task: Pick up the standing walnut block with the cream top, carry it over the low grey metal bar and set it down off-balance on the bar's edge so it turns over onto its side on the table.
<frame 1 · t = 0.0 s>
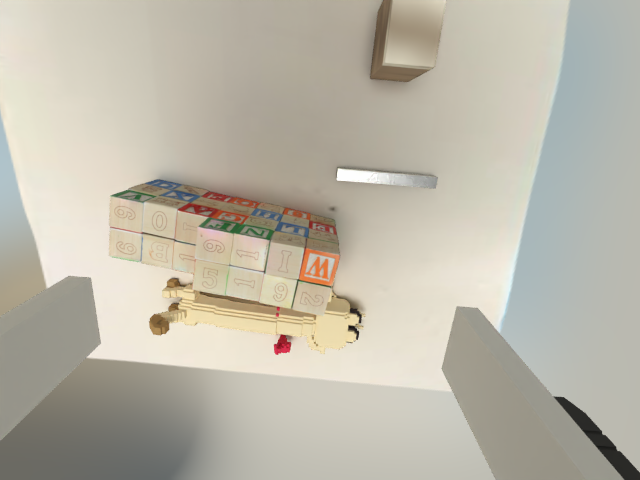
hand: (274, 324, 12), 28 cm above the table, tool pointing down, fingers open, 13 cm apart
cat figure: (268, 304, 44), on the table
walnut block: (393, 47, 34), on the table
grey bar: (384, 176, 38), on the table
stack of blocks: (244, 223, 40), on the table
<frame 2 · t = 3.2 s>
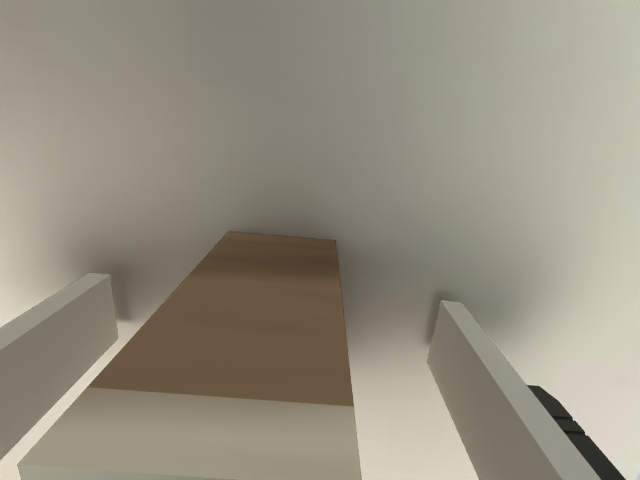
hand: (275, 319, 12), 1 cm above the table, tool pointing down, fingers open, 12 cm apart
walnut block: (278, 306, 13), on the table
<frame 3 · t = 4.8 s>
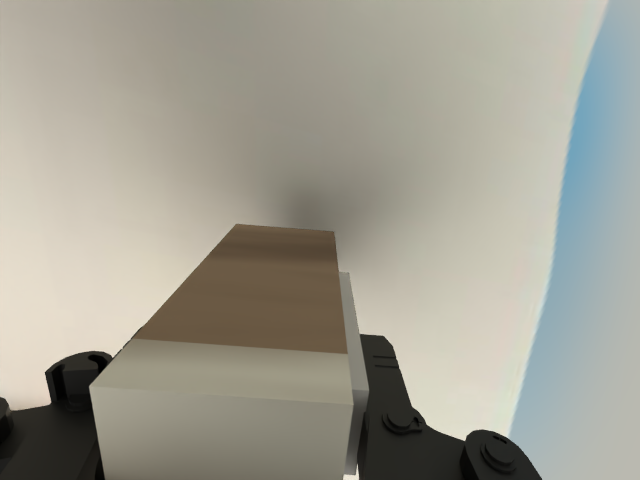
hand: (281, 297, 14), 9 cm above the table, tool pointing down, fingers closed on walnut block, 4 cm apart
walnut block: (282, 293, 15), point 8 cm above the table, touching gripper
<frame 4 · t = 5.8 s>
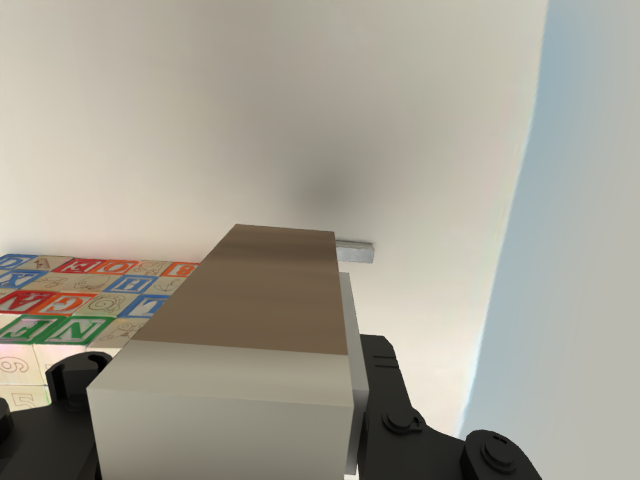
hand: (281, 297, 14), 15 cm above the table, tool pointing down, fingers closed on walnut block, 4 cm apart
walnut block: (282, 293, 14), point 15 cm above the table, touching gripper
grey bar: (309, 244, 30), on the table
stack of blocks: (131, 287, 32), on the table
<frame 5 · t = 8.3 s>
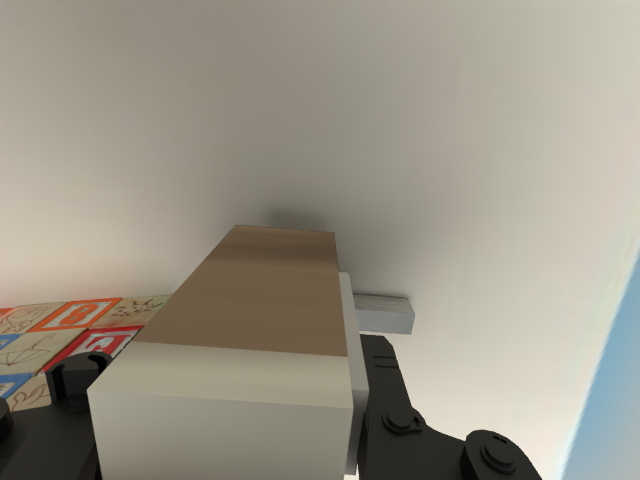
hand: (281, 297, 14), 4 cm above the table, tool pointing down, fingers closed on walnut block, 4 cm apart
walnut block: (281, 294, 14), point 3 cm above the table, touching gripper
grey bar: (305, 300, 18), on the table
stack of blocks: (18, 351, 20), on the table
when the fingers open (4 cm above the table, at t = 8.6 s): walnut block moves 3 cm and tips over, point 3 cm above the table.
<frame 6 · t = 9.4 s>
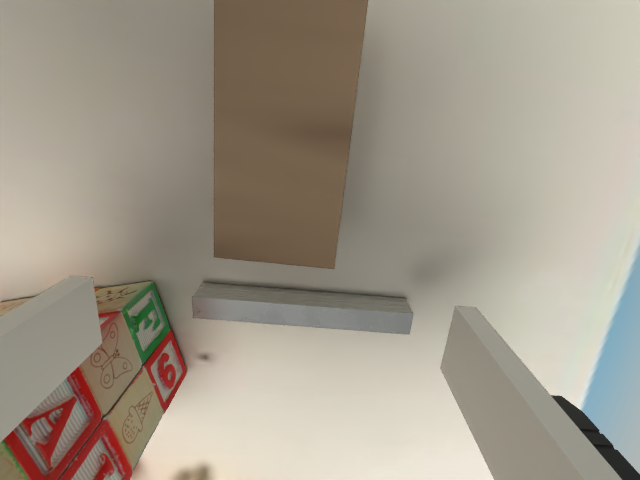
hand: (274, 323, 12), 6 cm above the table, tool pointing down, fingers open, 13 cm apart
walnut block: (284, 235, 14), point 3 cm above the table, tilted 90°
grey bar: (304, 300, 18), on the table
stack of blocks: (1, 350, 20), on the table, touching gripper
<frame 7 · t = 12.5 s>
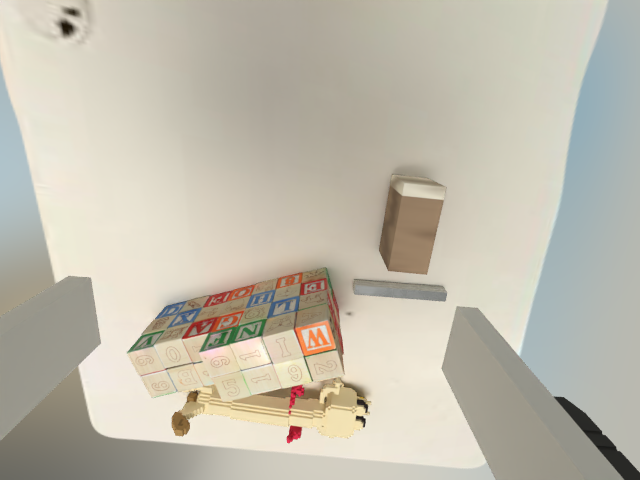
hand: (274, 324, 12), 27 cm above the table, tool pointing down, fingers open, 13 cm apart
cat figure: (279, 390, 47), on the table
walnut block: (401, 261, 37), point 3 cm above the table, tilted 90°
grey bar: (397, 287, 41), on the table
stack of blocks: (252, 306, 43), on the table
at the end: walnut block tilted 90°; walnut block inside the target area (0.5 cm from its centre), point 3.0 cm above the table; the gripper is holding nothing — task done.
